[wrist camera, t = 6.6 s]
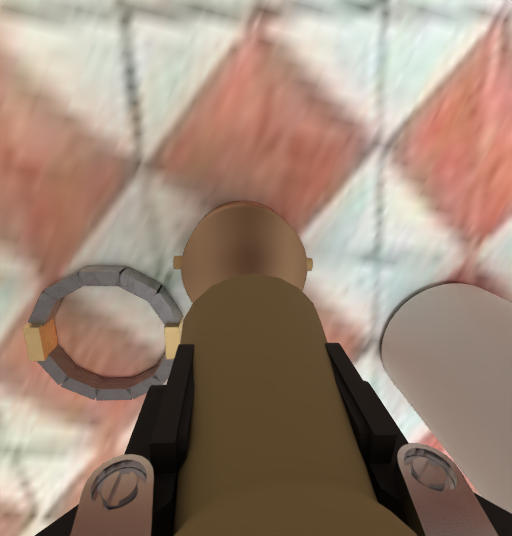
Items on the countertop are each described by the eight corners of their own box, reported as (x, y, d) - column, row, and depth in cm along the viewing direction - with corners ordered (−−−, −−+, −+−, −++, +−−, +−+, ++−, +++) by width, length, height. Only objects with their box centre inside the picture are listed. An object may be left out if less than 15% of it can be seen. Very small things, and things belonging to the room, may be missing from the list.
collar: (52, 389, 29) (38, 406, 27) (29, 264, 26) (11, 273, 23) (185, 387, 30) (181, 403, 28) (181, 266, 27) (176, 275, 25)
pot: (182, 300, 28) (172, 328, 23) (178, 198, 25) (166, 205, 20) (298, 301, 29) (312, 327, 24) (306, 202, 26) (324, 209, 21)
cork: (207, 252, 12) (29, 891, 1) (345, 300, 13) (845, 855, 2) (162, 379, 13) (-84, 1145, 3) (289, 412, 14) (448, 1053, 4)
